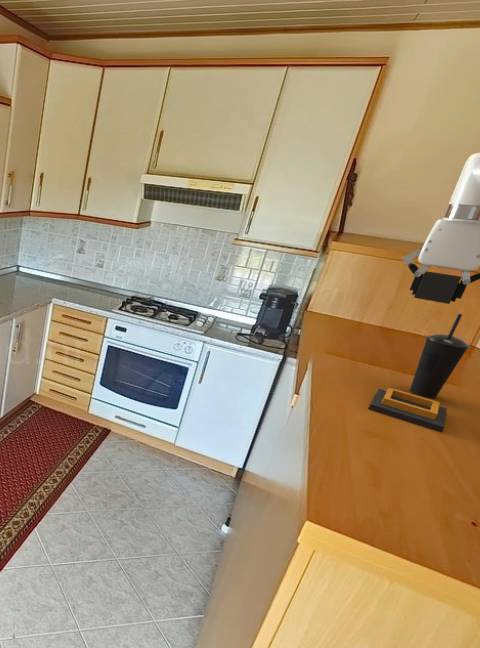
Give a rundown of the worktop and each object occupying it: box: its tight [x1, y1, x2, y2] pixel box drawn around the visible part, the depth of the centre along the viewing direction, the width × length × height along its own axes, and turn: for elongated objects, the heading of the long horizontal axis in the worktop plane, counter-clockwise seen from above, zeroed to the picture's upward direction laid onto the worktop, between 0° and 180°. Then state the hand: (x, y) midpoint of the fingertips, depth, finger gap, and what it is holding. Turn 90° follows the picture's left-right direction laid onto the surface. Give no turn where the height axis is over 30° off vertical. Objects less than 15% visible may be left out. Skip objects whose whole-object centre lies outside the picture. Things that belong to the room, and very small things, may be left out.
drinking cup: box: [409, 313, 471, 399], centre depth 113 cm, size 8×8×20 cm
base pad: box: [368, 387, 448, 433], centre depth 106 cm, size 14×12×3 cm
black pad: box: [413, 270, 462, 305], centre depth 109 cm, size 6×6×6 cm
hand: (433, 296), depth 110 cm, fingers closed on black pad, 6 cm apart
